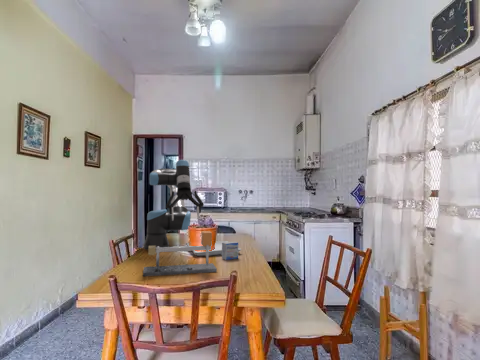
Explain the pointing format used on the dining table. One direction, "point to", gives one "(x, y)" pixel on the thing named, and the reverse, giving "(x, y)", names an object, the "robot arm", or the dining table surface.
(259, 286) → the dining table surface
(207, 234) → the post
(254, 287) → the dining table surface
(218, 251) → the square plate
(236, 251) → the medicine box
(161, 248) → the frame
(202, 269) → the bolt plate
